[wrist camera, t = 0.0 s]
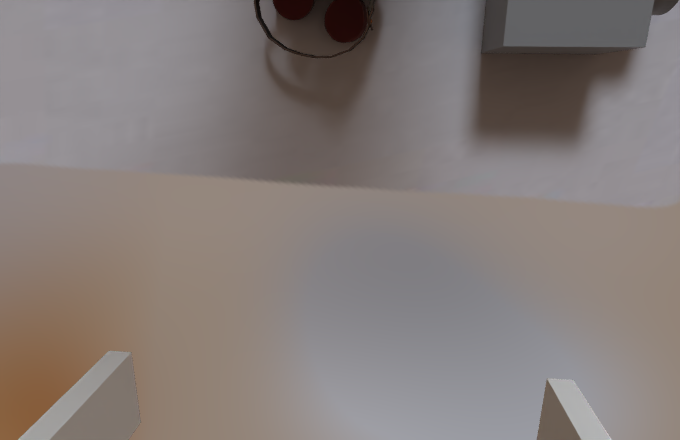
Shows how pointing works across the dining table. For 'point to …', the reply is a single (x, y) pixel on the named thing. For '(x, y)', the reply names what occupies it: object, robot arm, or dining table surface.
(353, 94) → the dining table surface
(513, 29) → the camera body
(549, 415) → the robot arm
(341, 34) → the binoculars
